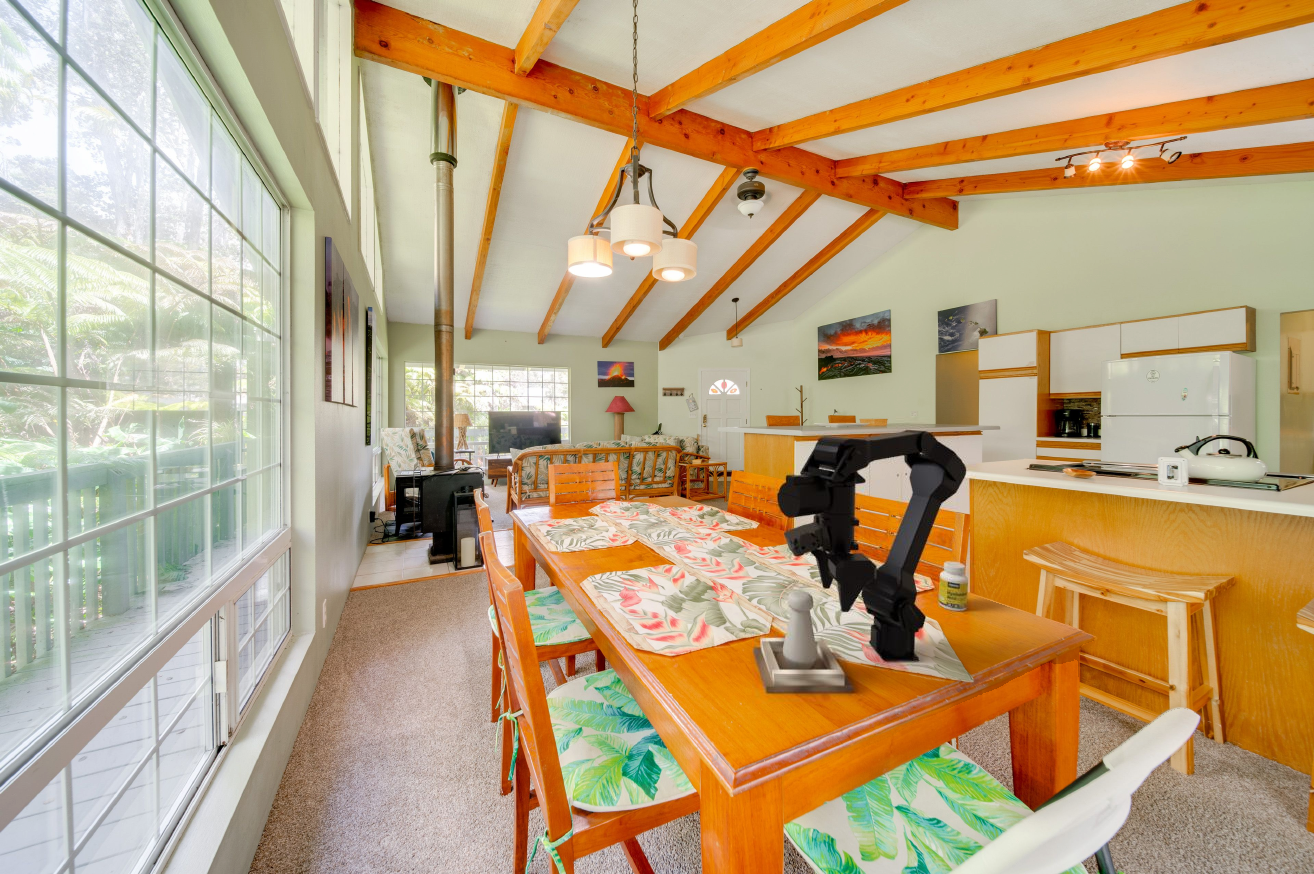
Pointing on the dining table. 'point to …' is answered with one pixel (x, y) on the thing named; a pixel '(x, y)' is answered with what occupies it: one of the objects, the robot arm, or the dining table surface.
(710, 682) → the dining table surface
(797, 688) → the shaker stand
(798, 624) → the salt shaker
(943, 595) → the supplement bottle
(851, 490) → the robot arm
